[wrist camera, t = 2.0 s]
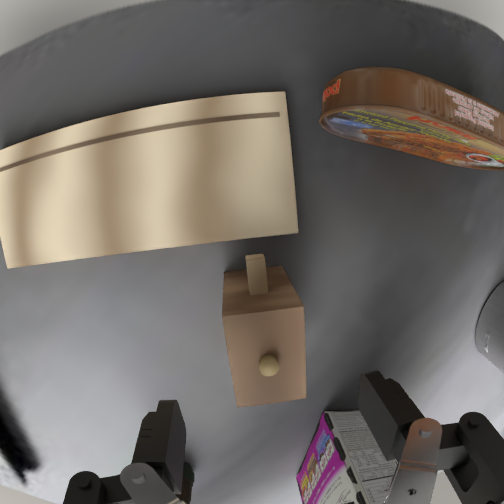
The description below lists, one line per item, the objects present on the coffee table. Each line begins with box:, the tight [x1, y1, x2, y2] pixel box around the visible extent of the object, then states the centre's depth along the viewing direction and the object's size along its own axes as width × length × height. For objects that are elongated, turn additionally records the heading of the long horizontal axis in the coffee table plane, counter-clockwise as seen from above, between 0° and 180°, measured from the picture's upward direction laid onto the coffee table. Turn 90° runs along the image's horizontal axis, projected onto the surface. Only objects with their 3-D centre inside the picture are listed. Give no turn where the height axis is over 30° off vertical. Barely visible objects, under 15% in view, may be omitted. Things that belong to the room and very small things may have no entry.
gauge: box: [222, 254, 306, 407], centre depth 19 cm, size 4×10×8 cm, turn 6°
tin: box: [319, 67, 504, 171], centre depth 16 cm, size 15×3×8 cm, turn 84°
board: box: [0, 91, 298, 268], centre depth 19 cm, size 22×9×2 cm, turn 96°
